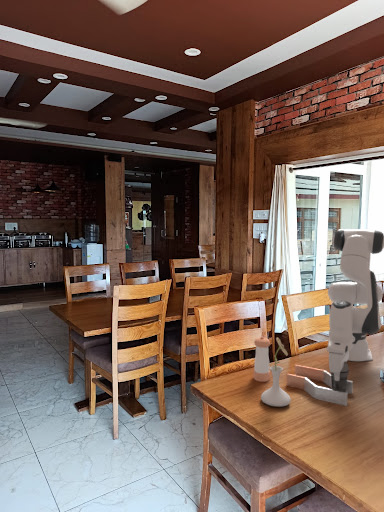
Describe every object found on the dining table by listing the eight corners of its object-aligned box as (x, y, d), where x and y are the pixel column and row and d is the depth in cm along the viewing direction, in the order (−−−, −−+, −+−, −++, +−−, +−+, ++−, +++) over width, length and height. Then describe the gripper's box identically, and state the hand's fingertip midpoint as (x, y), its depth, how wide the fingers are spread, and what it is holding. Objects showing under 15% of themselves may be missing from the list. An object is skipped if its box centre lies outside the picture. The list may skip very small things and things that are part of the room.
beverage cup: (350, 401, 149) (351, 352, 147) (330, 400, 150) (331, 350, 148) (346, 393, 156) (347, 345, 154) (327, 392, 157) (328, 344, 155)
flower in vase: (289, 412, 141) (290, 346, 139) (258, 406, 145) (259, 342, 143) (292, 396, 153) (293, 335, 151) (264, 392, 157) (264, 333, 155)
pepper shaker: (263, 383, 166) (263, 340, 164) (250, 378, 171) (250, 336, 170) (273, 378, 171) (273, 336, 169) (260, 373, 176) (260, 333, 175)
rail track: (295, 375, 175) (295, 364, 174) (354, 387, 161) (355, 376, 161) (281, 390, 159) (282, 379, 158) (346, 406, 145) (347, 393, 145)
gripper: (337, 334, 161) (336, 366, 162) (326, 348, 144) (325, 383, 145) (353, 337, 158) (352, 369, 159) (343, 351, 141) (342, 387, 142)
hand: (339, 376), depth 152 cm, fingers open, 7 cm apart
